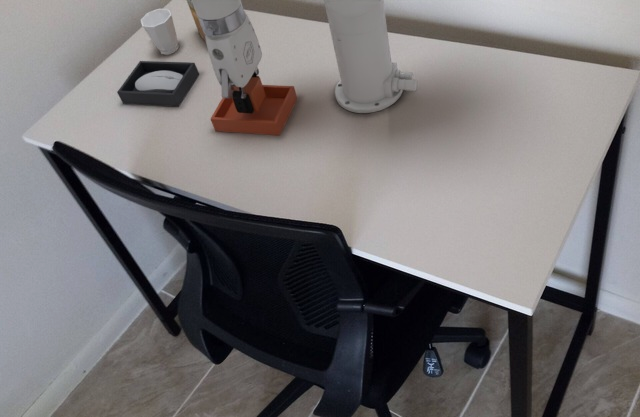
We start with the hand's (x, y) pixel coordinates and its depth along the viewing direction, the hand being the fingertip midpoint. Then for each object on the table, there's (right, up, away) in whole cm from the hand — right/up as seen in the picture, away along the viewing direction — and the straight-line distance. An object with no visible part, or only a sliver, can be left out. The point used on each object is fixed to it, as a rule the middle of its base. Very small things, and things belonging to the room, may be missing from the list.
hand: (250, 101), depth 119 cm
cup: (-21, +16, +24) cm, 36 cm away
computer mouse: (-20, +5, +13) cm, 24 cm away
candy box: (-11, +18, +23) cm, 31 cm away
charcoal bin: (-20, +5, +14) cm, 25 cm away
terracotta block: (0, 0, 0) cm, 0 cm away
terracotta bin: (+1, -2, +2) cm, 3 cm away
